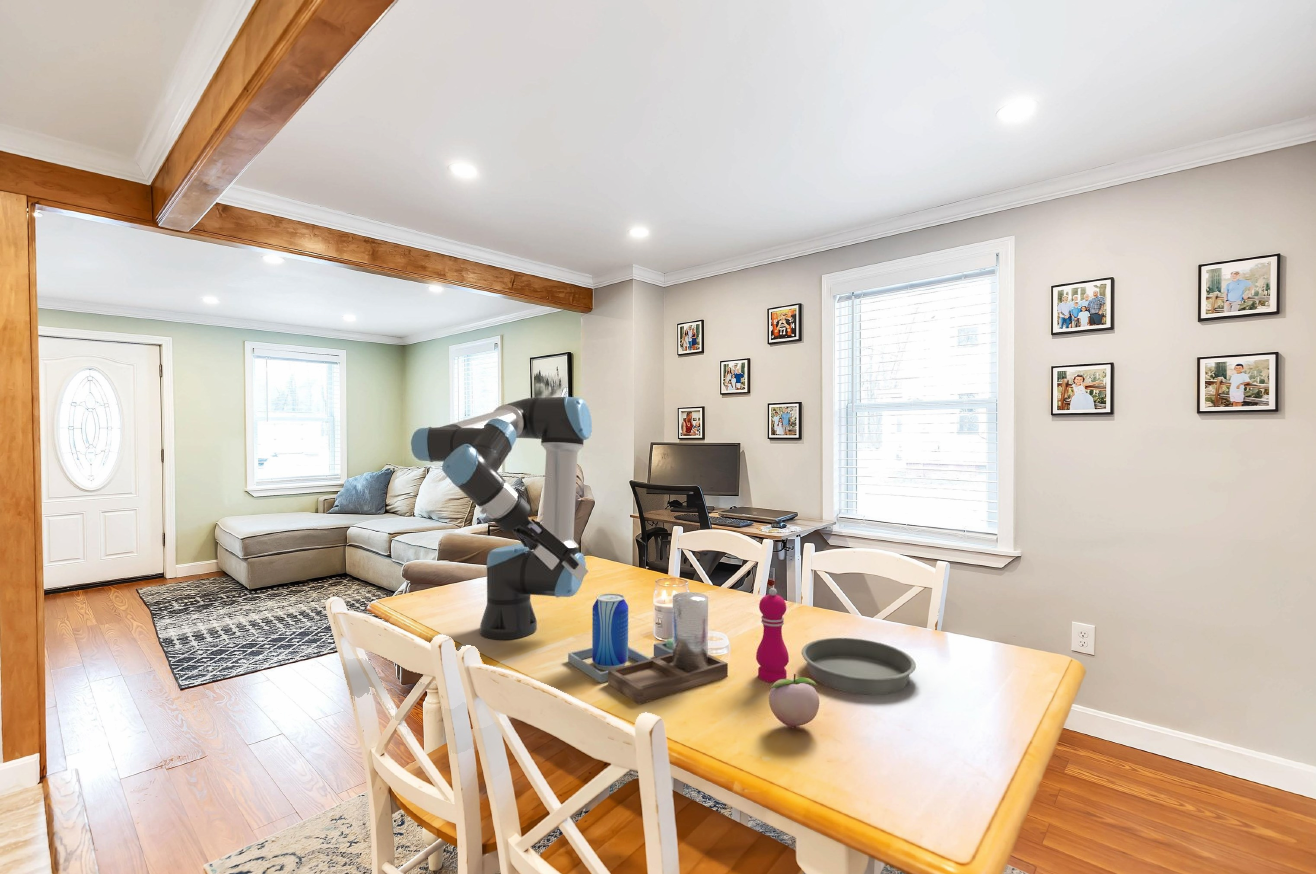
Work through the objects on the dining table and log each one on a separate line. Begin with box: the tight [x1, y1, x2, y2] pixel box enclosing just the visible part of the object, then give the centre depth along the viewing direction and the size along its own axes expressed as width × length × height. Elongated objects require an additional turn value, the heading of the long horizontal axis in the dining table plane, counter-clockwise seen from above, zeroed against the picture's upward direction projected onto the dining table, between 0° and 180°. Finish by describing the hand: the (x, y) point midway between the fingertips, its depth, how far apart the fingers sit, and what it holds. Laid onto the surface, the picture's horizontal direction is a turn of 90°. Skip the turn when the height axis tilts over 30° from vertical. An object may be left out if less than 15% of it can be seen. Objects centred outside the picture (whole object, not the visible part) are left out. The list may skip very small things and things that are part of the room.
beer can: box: [591, 593, 629, 671], centre depth 142 cm, size 8×8×16 cm
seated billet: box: [672, 591, 709, 673], centre depth 137 cm, size 8×8×16 cm
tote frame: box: [567, 646, 652, 684], centre depth 142 cm, size 15×14×2 cm
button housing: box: [653, 640, 673, 658], centre depth 147 cm, size 7×7×3 cm
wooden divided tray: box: [607, 653, 729, 705], centre depth 133 cm, size 12×24×3 cm, turn 126°
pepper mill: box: [755, 587, 790, 684], centre depth 135 cm, size 7×7×20 cm
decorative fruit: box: [768, 673, 820, 729], centre depth 112 cm, size 9×8×10 cm
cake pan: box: [801, 637, 917, 695], centre depth 137 cm, size 25×25×4 cm
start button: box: [665, 637, 673, 650], centre depth 147 cm, size 4×4×4 cm
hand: (569, 570), depth 135 cm, fingers open, 13 cm apart
